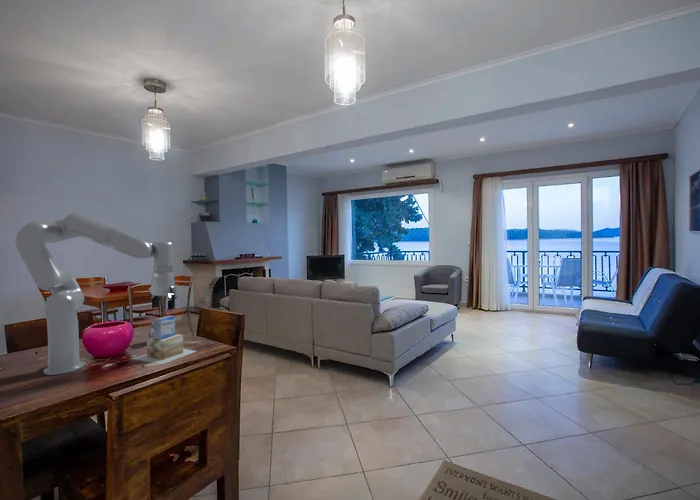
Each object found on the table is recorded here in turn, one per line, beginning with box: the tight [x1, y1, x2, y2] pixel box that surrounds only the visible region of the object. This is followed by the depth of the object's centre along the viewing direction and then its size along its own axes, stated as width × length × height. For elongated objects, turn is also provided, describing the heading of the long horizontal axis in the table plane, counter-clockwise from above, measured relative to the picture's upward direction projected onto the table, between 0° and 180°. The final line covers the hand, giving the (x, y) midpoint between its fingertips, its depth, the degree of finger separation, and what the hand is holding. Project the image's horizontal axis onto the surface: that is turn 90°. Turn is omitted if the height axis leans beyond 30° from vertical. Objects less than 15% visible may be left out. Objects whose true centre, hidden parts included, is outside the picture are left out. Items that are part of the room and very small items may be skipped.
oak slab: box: [146, 343, 184, 360], centre depth 153 cm, size 10×10×4 cm
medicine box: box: [152, 315, 176, 339], centre depth 152 cm, size 8×4×9 cm, turn 163°
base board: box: [132, 348, 197, 365], centre depth 153 cm, size 18×18×1 cm
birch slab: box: [146, 333, 184, 350], centre depth 153 cm, size 10×10×4 cm
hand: (163, 308), depth 152 cm, fingers open, 9 cm apart
